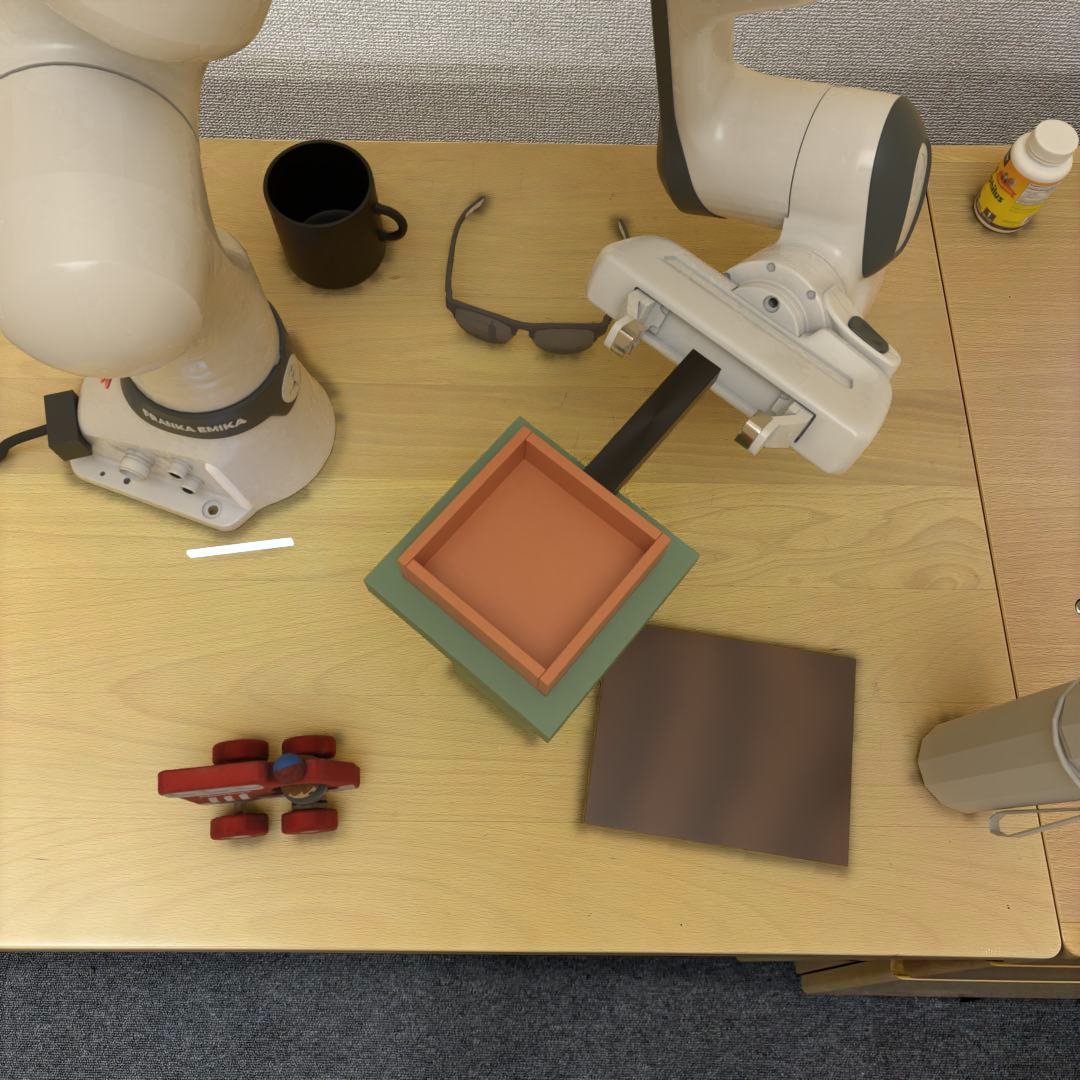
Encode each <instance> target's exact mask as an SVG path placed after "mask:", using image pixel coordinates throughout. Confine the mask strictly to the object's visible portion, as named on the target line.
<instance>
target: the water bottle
mask: <svg viewBox="0 0 1080 1080" xmlns="http://www.w3.org/2000/svg"><path fill="white" fill-rule="evenodd" d="M917 765H918V768H919V771H920V774H921V778H922V781H923V785H924V787H925V788H926V789H927V790H928V791H929V792H930V793H931V794H932V795H933V796H934V797H935V798H936V799H937V801H938V802H939V803H940V805H942V806H945V807H947V808H950V809H953V810H956V811H958V812H961V813H964V814H973V813H982V812H991V811H995V812H994V813H993V814H992V815H990V817H989V820H987V823H988V829H989V833H990V834H992V835H994V836H996V837H1003V838H1015V839H1021V838H1025V837H1029V836H1031V835H1035V834H1038V833H1042V832H1045V831H1049V830H1053V829H1056V828H1061V827H1063V826H1066V825H1070V824H1073V823H1077V822H1080V814H1078V815H1075V816H1071V817H1067V818H1064V819H1060V820H1057V821H1054V822H1050V823H1047V824H1046V823H1045V824H1043V825H1039V826H1035V827H1032V828H1028V829H1024V830H1021V831H1018V832H1014V833H1011V834H1007V833H1005V832H1002V831H1001V828H1000V821H1001V820H1002V819H1003V818H1004V817H1006V816H1008V815H1009V816H1010V815H1025V814H1026V815H1028V814H1044V813H1047V814H1048V813H1060V812H1061V813H1063V812H1065V813H1066V812H1080V806H1079V807H1057V808H1056V807H1055V808H1054V807H1053V808H1052V807H1051V808H1034V809H1033V808H1028V807H1035V806H1044V805H1055V804H1062V803H1071V802H1072V803H1073V802H1080V677H1079V678H1077V679H1074V680H1070V681H1067V682H1065V683H1064V682H1063V683H1061V684H1058V685H1055V686H1051V687H1049V688H1046V689H1043V690H1040V691H1036V692H1034V693H1030V694H1028V695H1024V696H1021V697H1018V698H1015V699H1012V700H1008V701H1005V702H1003V703H1000V704H997V705H994V706H991V707H987V708H984V709H981V710H978V711H975V712H972V713H969V714H966V715H963V716H959V717H957V718H953V719H950V720H947V721H944V722H941V723H938V724H937V725H936V726H934V728H932V730H931V731H929V732H928V733H927V734H926V736H924V737H923V738H922V740H921V744H920V749H919V753H918V759H917ZM1026 807H1027V808H1028V809H1027V808H1026ZM1018 808H1019V809H1018ZM1020 808H1026V809H1020ZM999 810H1000V811H999Z"/></svg>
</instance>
